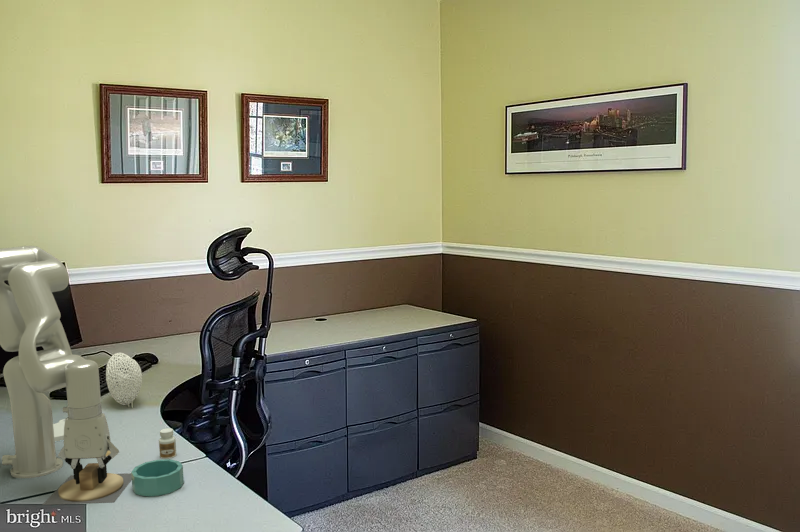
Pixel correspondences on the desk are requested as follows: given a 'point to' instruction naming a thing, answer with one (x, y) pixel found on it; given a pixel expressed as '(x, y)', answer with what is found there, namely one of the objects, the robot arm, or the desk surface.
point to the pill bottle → (167, 444)
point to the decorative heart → (123, 378)
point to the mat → (56, 500)
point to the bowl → (157, 477)
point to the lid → (90, 485)
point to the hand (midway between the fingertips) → (90, 480)
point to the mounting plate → (59, 430)
